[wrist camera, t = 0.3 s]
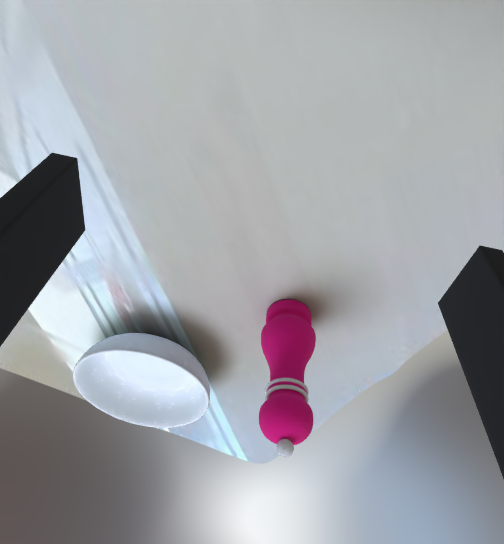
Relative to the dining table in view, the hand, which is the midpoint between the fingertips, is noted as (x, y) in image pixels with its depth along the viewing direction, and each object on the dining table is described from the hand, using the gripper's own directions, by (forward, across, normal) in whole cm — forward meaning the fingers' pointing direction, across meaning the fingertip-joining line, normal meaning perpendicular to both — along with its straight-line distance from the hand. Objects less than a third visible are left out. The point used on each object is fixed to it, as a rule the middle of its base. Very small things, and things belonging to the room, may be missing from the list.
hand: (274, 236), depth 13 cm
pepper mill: (+28, +8, -32) cm, 43 cm away
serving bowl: (+28, -11, -48) cm, 57 cm away
